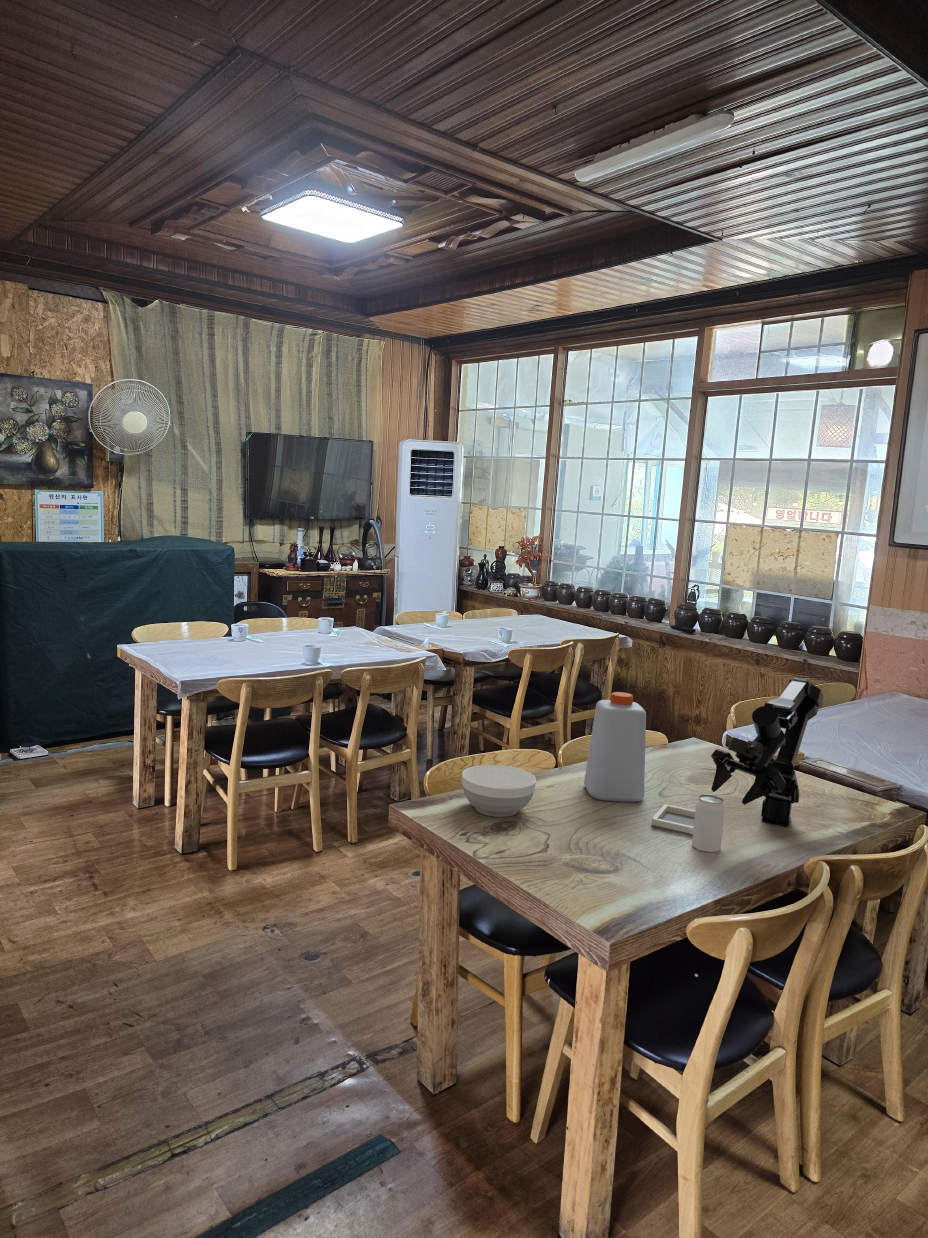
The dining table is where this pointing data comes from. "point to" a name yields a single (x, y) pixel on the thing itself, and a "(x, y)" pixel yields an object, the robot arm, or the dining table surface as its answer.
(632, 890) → the dining table surface
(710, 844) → the can
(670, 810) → the square tray
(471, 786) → the bowl
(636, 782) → the plastic bottle
